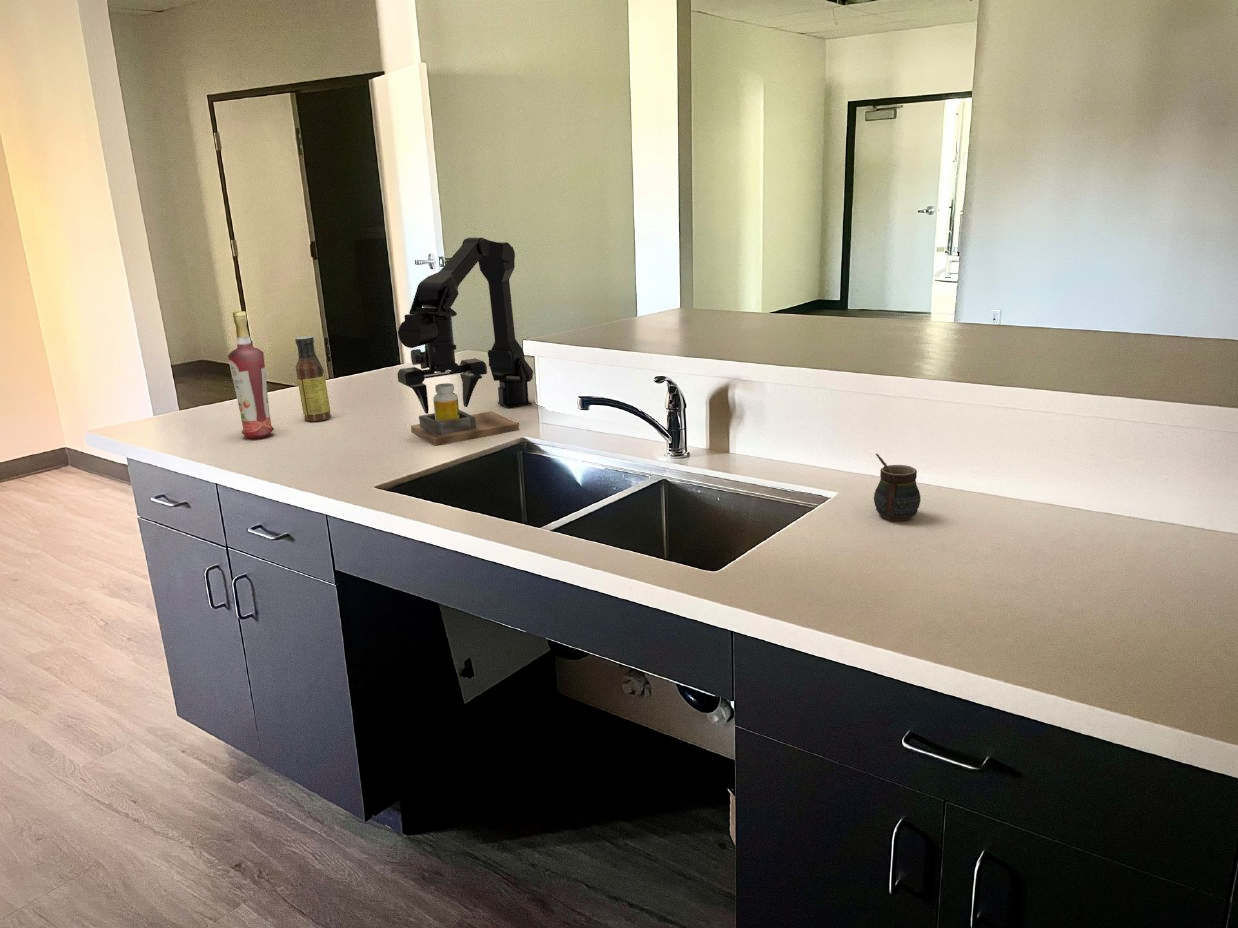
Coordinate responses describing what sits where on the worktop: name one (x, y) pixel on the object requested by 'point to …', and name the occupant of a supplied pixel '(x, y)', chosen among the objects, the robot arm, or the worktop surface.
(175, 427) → the worktop surface
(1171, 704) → the worktop surface
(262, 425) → the liquor
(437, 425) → the socket board
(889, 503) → the mate gourd
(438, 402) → the supplement bottle
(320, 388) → the sauce bottle
